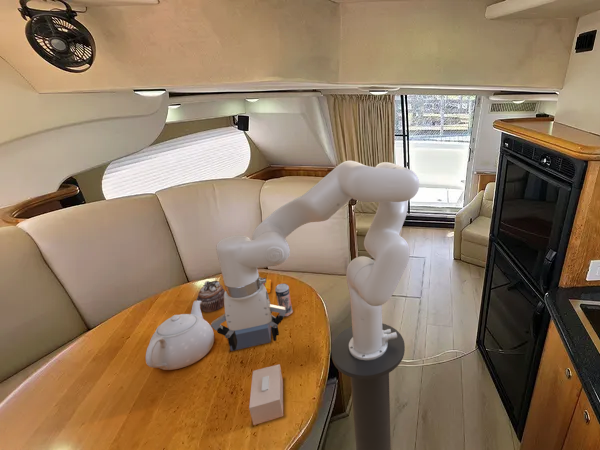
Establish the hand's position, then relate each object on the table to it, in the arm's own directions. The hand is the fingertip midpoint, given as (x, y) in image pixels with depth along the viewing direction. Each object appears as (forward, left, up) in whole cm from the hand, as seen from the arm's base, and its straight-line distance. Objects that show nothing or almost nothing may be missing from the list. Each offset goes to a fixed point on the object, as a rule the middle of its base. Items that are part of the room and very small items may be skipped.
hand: (255, 341), depth 82 cm
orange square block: (+4, -54, -16) cm, 57 cm away
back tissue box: (+5, -22, -16) cm, 28 cm away
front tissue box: (-1, +5, -16) cm, 17 cm away
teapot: (+25, -23, -16) cm, 38 cm away
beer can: (-6, -33, -16) cm, 37 cm away
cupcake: (+21, -48, -16) cm, 55 cm away
